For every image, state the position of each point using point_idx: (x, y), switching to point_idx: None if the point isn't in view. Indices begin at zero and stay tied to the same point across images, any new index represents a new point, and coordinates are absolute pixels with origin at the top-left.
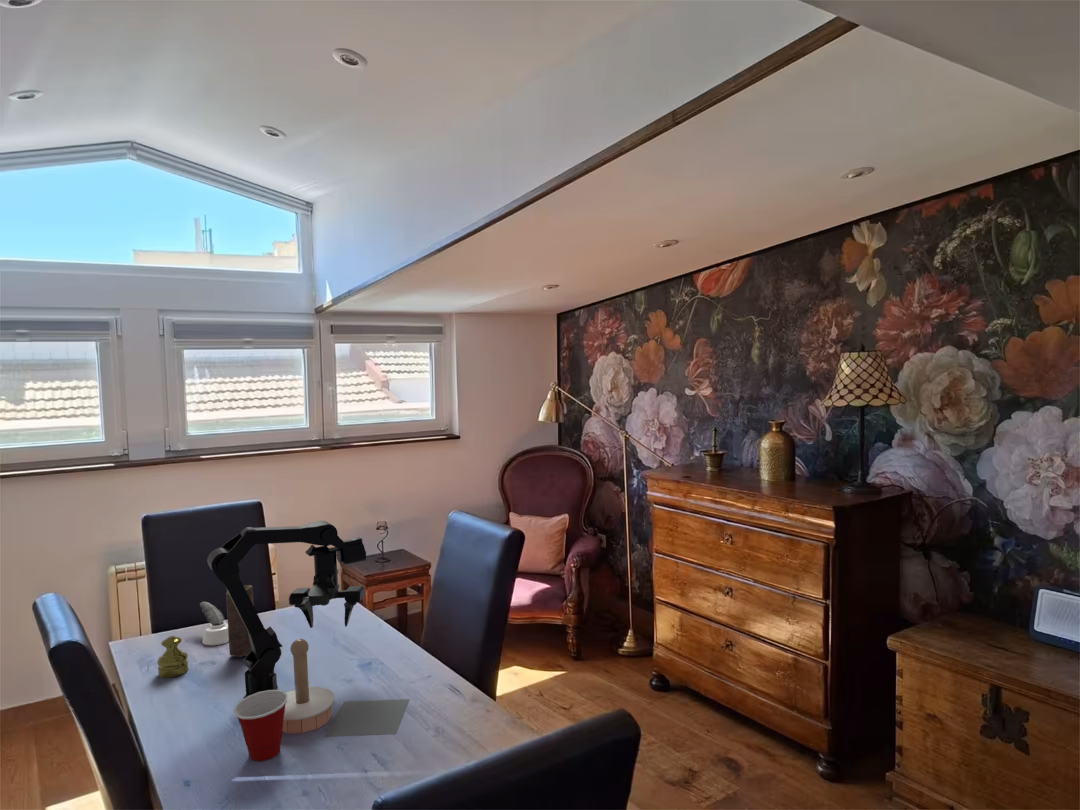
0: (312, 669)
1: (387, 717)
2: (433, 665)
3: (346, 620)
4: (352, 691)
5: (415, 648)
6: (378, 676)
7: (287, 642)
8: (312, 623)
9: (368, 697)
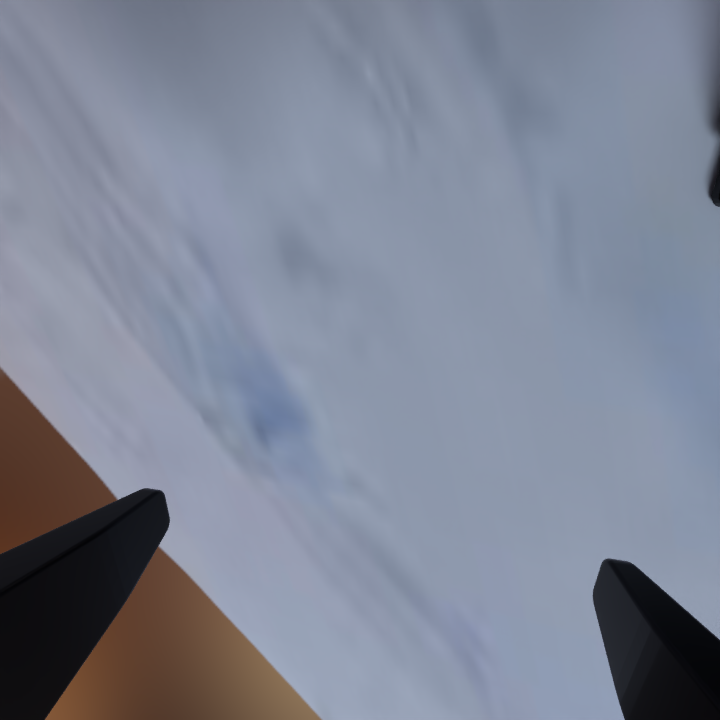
0: (522, 416)
1: None
2: (7, 361)
3: (61, 535)
4: (239, 118)
5: None
6: (176, 288)
7: None
8: (619, 634)
9: (131, 30)
